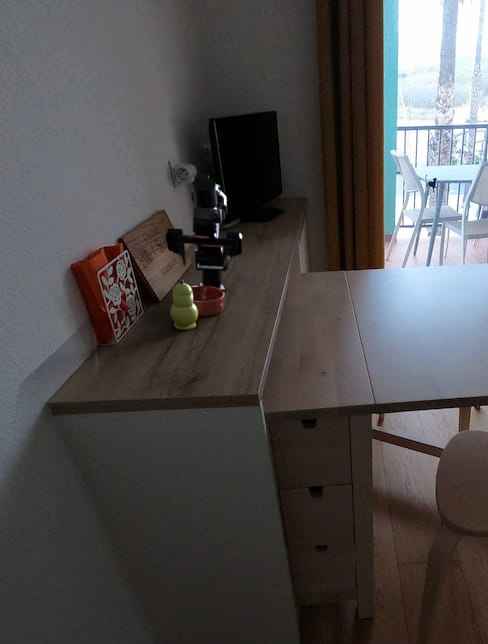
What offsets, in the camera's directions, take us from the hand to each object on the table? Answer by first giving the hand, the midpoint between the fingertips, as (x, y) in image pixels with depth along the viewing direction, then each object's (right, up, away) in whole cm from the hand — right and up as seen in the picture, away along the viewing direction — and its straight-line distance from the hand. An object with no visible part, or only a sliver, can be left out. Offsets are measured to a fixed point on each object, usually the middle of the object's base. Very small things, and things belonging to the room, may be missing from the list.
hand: (203, 264), depth 116 cm
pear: (-6, -15, +2) cm, 16 cm away
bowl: (-5, -9, +13) cm, 17 cm away
